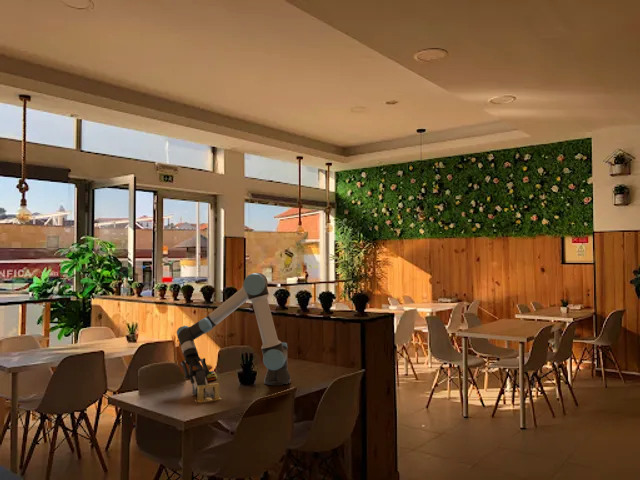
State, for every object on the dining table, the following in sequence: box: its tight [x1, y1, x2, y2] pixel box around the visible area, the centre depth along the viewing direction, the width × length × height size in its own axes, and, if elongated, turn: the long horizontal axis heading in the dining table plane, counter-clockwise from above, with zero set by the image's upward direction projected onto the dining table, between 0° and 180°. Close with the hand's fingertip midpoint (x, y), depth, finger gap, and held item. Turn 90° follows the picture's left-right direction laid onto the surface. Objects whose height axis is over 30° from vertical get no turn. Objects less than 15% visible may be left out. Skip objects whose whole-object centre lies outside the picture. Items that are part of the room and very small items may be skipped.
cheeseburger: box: [202, 364, 218, 382], centre depth 320 cm, size 10×11×10 cm
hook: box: [191, 368, 214, 399], centre depth 277 cm, size 5×21×12 cm, turn 35°
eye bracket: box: [194, 382, 223, 404], centre depth 273 cm, size 12×6×8 cm, turn 125°
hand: (201, 387), depth 280 cm, fingers closed on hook, 5 cm apart
